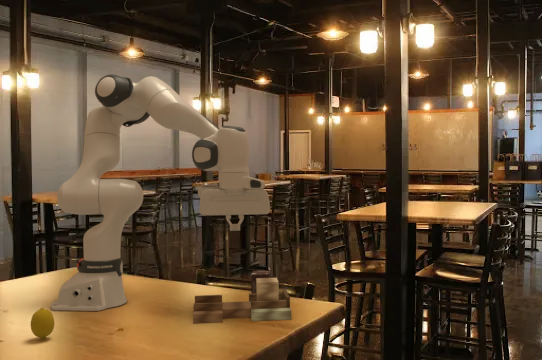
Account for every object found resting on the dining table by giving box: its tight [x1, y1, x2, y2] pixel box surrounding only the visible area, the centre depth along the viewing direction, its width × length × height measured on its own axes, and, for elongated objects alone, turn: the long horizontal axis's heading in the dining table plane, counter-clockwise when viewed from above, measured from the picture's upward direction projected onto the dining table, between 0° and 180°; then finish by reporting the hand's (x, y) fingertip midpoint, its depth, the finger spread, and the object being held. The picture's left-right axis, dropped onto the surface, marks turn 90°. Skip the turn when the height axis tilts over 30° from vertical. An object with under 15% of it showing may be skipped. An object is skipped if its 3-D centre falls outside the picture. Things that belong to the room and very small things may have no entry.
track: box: [192, 288, 292, 324], centre depth 165 cm, size 27×16×6 cm, turn 95°
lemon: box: [30, 307, 55, 340], centre depth 143 cm, size 6×6×8 cm
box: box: [250, 270, 272, 294], centre depth 188 cm, size 6×6×7 cm
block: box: [256, 277, 280, 301], centre depth 165 cm, size 6×6×7 cm
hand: (235, 230), depth 164 cm, fingers closed
